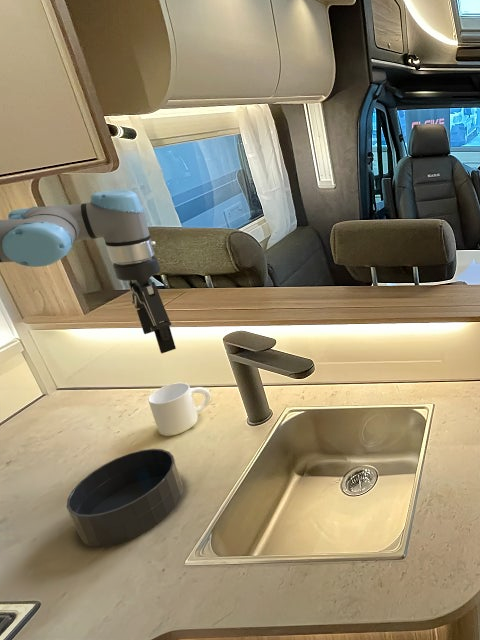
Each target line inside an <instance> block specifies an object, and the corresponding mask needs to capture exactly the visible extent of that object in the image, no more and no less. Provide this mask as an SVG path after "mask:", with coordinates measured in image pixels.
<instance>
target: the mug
mask: <svg viewBox="0 0 480 640" xmlns="http://www.w3.org/2000/svg"><path fill="white" fill-rule="evenodd" d="M196 394H202V395H203V396H204V400H203V402H202V403H201V404H200V405H199V406H196V404H195V400H194V398H193V395H196ZM211 397H212V395H211V393H210V391H209V390H208V389H207V388H205V387H202V386H196V387H191V386H190V384H189V383H186V382H175V383H170V384H167V385H164V386H162V387H159V388H158V389H156V390H155V391H152V392H151V394H150V395H149V396H148V399H147V401H148V404H149V407H150V410H151V413H152V416H153V419H154V423H155V425H156V426H155V427H156V429H157V431H158V433H159V434H160V435H162V436H166V437H171V436H176V435H179V434H182V433H184V432H186V431H189V430H190V429H191V428H192V427H193V426H194V425H196V423H197V422H198V418H199V417H198V413H200V412H202V411H203V410H205V409H206V408H207V407H208V406H209V405H210V402H211Z"/></svg>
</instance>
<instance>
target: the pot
mask: <svg viewBox="0 0 480 640" xmlns="http://www.w3.org/2000/svg"><path fill="white" fill-rule="evenodd" d="M183 493H184V486H183V482H182V478H181V475H180V472H179V469H178V467H177V463H176V460H175V457H174V455H173V454H172V453H171V452H170V451H168V450H165V449H162V448H148V449H141V450H136V451H133V452H130V453H127V454H125V455H121V456H118V457H116V458H114V459H112V460H111V461H109V462H106V463H104V464H103V465H101V466H99V467H98V468H96V469H95V470H93V471H92V472H90V473H89V474H87V476H85V477H84V478H83V479H82V480H80V481H79V482H78V483H77V485H76V486H75V487H74V488H73V489H72V490H71V492H70V493H69V495H68V497H67V499H66V509H67V511H68V513H69V516H70V518H71V520H72V522H73V525H74V527H75V529H76V531H77V533H78V536H79V538H80V540H81V541H82V543H83V544H85V545H86V546H89V547H93V548H105V547H111V546H117V545H119V544H123V543H125V542H128V541H131V540H133V539H135V538H138V537H140V536H141V535H142V534H145V533H146V532H148V531H150V530H151V529H153V528H154V527H156V526H157V525H158V524H159V523H161V522H162V521H163V520H164V519H166V518H167V517H168V516H169V515H170V513H172V512H173V510H174V509H175V508H176V507H177V505H178V504H179V502H180V500H181V498H182V496H183Z"/></svg>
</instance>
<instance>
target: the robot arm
mask: <svg viewBox="0 0 480 640" xmlns="http://www.w3.org/2000/svg"><path fill="white" fill-rule="evenodd" d="M101 238H102V239H103V240H104V243H105V248H106V250H107V253H108V257H109V259H110V262H112V263H113V264H112V268H113V271H114V274H115V277H116V279H117V280H120V281H123V282H126V281H127V282H128V287H129V291H130V297H131V303H132V304H133V306H134V308H135V309H136V313H137V317H138V319H139V322H140V325H141V329H142V332H143V334H144V335H147V334H150V333H154V335H155V338H156V341H157V345H158V348H159V352H160V354H165V353H167V352H170V351H171V352H172V351H174V350H176V349H177V347H176V344H175V340H174V338H173V334H172V331H171V327H170V326H172V322H171V320H170V318H169V315H168V312H167V310H166V308H165V305H164V303H163V300H162V297H161V296H160V293H159V290H158V286H157V284H156V282H155V281H153V280H152V279H151V278H152V277H153V276H156V275H157V274H159V273H160V270H161V268H160V266H159V261H158V258H157V256H155V254H156V251H155V249H154V247H153V246H156V241H154V240H152V239H151V234H150V231H149V227H148V224H147V219H146V215H145V212H144V209H143V207H142V203H141V201H140V199H139V196H138V194H137V193H136V192H135V191H133V190H128V189H113V190H111V189H110V190H104V191H97V192H94V193H92V194H91V195H90V202H86V203H77V204H75V203H74V204H61V205H49V206H48V205H47V206H31V207H26V208H17V209H13V210H11V211H10V212H9V213H8V218H7V219H0V263H15V264H18V265H21V266H24V267H31V268H41V267H47V266H50V265H54V264H56V263H58V262H59V261H61V260H62V259H63V258H64V257H66V256H67V255H68V254H69V253H70V251H71V250H72V247H73V244H74V243H75V242H79V241H85V240H86V241H87V240H96V239H101Z"/></svg>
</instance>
